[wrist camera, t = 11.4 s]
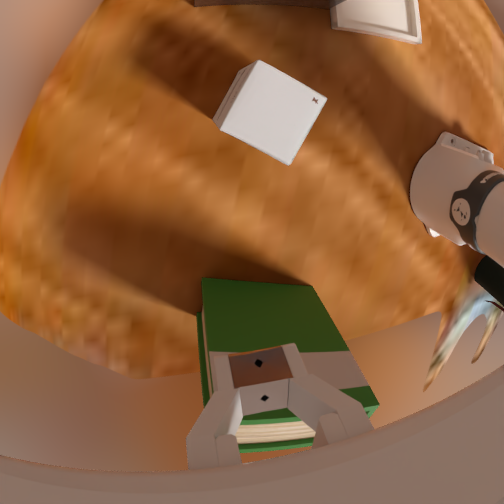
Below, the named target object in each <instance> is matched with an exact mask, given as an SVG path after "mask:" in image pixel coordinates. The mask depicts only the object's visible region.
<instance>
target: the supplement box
mask: <svg viewBox="0 0 504 504" xmlns="http://www.w3.org/2000/svg"><path fill="white" fill-rule="evenodd" d="M326 101H327V98H326V97H325V96H323V95H321V94H320V93H318V92H316V91H315V90H313V89H311V88H310V87H308V86H306V85H305V84H303V83H301V82H299V81H298V80H296V79H294V78H292V77H290V76H289V75H287V74H285V73H283V72H281V71H279V70H278V69H276V68H274V67H272V66H270V65H268V64H267V63H265V62H263V61H261V60H257V61H255V62H253V63H252V64H250V65H248V66H246V67H244V68H243V69H241V70H239V71H238V73H237V75H236V77H235V79H234V81H233V83H232V85H231V87H230V88H229V90H228V92H227V94H226V96H225V97H224V99H223V101H222V103H221V105H220V107H219V108H218V110H217V112H216V114H215V116H214V117H213V119H212V120H213V121H214V123H215V124H216V125H217V127H218V128H219V129H220V130H221V131H223V132H225V133H227V134H229V135H231V136H233V137H235V138H237V139H239V140H241V141H243V142H245V143H247V144H249V145H251V146H252V147H254V148H256V149H258V150H260V151H262V152H264V153H266V154H268V155H269V156H271V157H273V158H275V159H277V160H279V161H280V162H282V163H284V164H286V165H290V164H291V163H292V161H293V159H294V157H295V156H296V154H297V152H298V150H299V148H300V147H301V145H302V143H303V141H304V139H305V138H306V136H307V134H308V133H309V131H310V129H311V127H312V125H313V123H314V122H315V120H316V118H317V116H318V115H319V113H320V111H321V109H322V108H323V106H324V104H325V103H326Z"/></svg>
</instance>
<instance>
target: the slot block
mask: <svg viewBox="0 0 504 504" xmlns="http://www.w3.org/2000/svg"><path fill="white" fill-rule="evenodd" d="M344 1H346V0H194V7H201V6H215V5H240V4H263V5H288V6H302V7H312V8H321V9H330V8H332V7H334V6H336V5H338V4H340V3H342V2H344Z"/></svg>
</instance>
